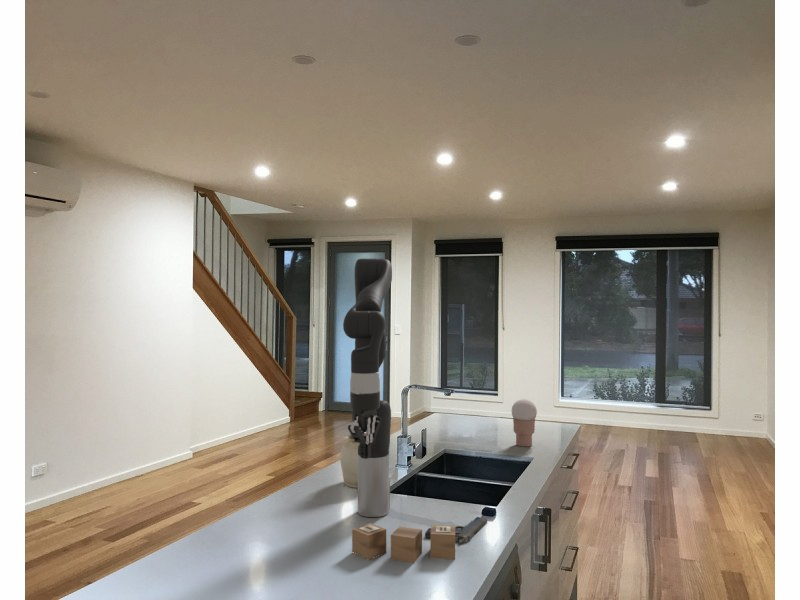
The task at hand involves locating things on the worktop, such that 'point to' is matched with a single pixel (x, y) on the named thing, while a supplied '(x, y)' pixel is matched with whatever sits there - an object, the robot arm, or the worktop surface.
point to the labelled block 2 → (442, 542)
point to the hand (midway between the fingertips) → (365, 457)
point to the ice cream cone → (524, 421)
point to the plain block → (406, 544)
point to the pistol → (465, 530)
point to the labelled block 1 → (369, 540)
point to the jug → (350, 462)
